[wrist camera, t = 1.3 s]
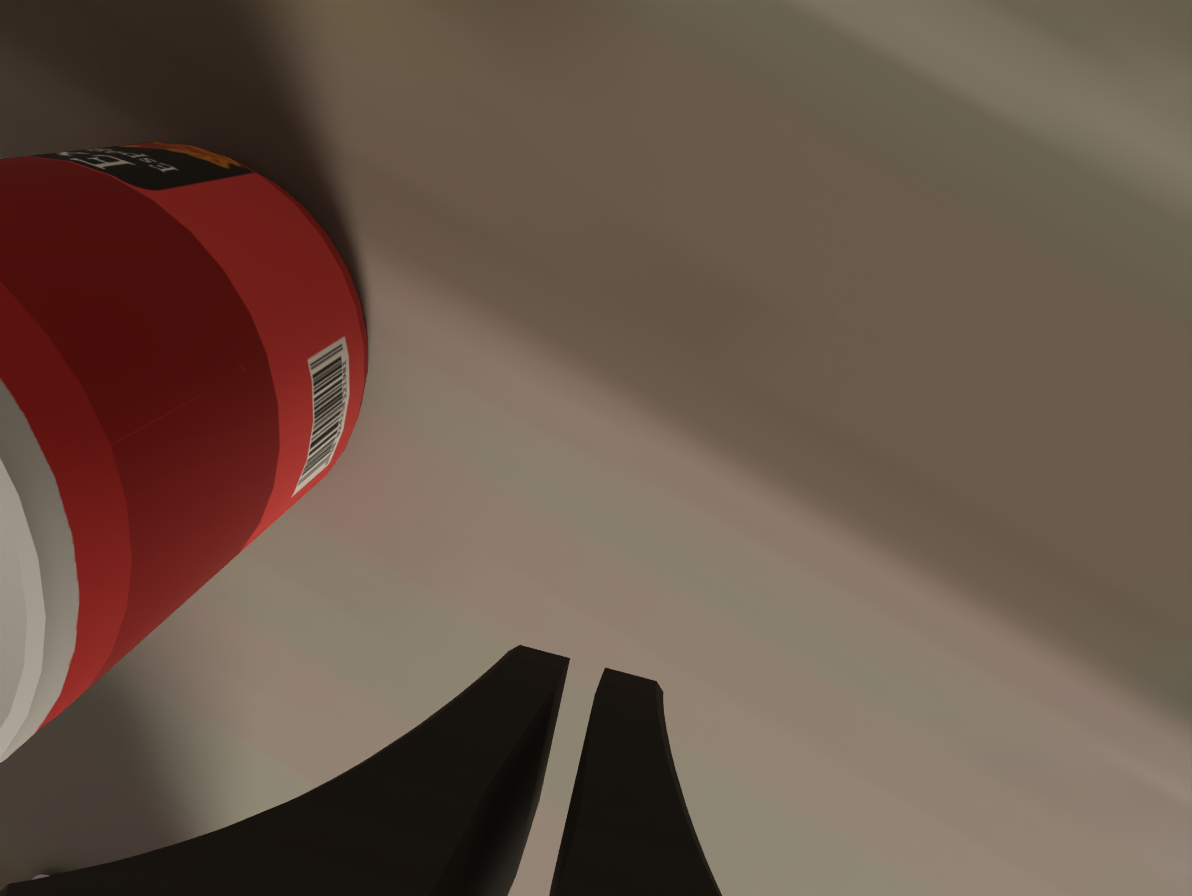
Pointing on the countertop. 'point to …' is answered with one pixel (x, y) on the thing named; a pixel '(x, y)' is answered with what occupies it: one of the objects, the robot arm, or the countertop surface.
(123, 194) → the canned food
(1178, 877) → the countertop surface
